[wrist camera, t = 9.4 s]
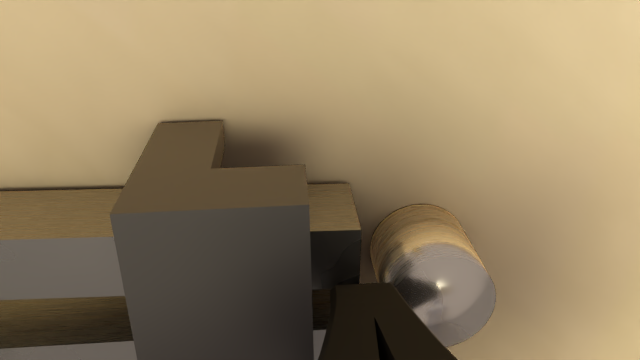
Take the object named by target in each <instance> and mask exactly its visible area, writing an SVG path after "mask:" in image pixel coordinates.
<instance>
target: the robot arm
mask: <svg viewBox="0 0 640 360" xmlns="http://www.w3.org/2000/svg"><path fill="white" fill-rule="evenodd" d="M318 360H457V359H456V358H455V357H454V356H453V355H452V354H451V352H450V351H449V350H448V349H447V348H446V347H445V346H444V345H443V344H442V343H441V342H440V341H439V340H438V338H437V337H436V336H435V335H434V334H433V333H432V332H431V331H430V330H429V329H428V327H427V326H426V325H425V324H424V323H423V322H422V320H421V319H420V318H419V317H418V316H417V314H416V313H415V312H414V311H413V310H412V308H411V307H410V306H409V305H408V303H407V302H406V301H405V299H404V298H403V297H402V295H401V294H400V293H399V291H398V290H397V289H396V287H395V286H394V285H392V284H391V283H390V282H387V283H369V284H351V285H335V286H334V287H333V288H332V289H331V290H330V315H329V320H328V325H327V330H326V333H325V337H324V341H323V344H322V348H321V352H320V355H319V358H318Z"/></svg>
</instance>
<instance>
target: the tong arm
mask: <svg viewBox="0 0 640 360" xmlns="http://www.w3.org/2000/svg"><path fill="white" fill-rule="evenodd" d="M307 189H308V198H309V214H310V246H311V279H312V289H332V288H333V287H334V286H335V285H351V284H359V276H360V251H361V227H360V223H359V219H358V215H357V211H356V208H355V204H354V200H353V196H352V192H351V188H350V185H349V183H343V184H307ZM122 190H123V189H84V190H41V191H0V300H20V299H49V298H78V297H107V296H125V293H124V288H123V283H122V277H121V272H120V267H119V262H118V256H117V251H116V246H115V241H114V235H113V230H112V225H111V220H110V212H111V210H112V209H113V207H114V205H115V203H116V201H117V199H118V197H119V196H120V194H121V192H122Z"/></svg>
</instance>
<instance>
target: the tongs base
mask: <svg viewBox="0 0 640 360" xmlns="http://www.w3.org/2000/svg"><path fill="white" fill-rule="evenodd" d="M370 255H371V260H372V263H373V267H374V271H375V275H376V278H377V282H378V283H387V282H390V283H391V284H392V285H394V286H395V287H396V289H397V290H398V291H399V293H400V294H401V295H402V297H403V298H404V299H405V301H406V302H407V303H408V305H409V306H410V307H411V308H412V310H413V311H414V312H415V313H416V314H417V316H418V317H419V318H420V319H421V320H422V322H423V323H424V324H425V325H426V326H427V327H428V329H429V330H430V331H431V332H432V333H433V334H434V335H435V336H436V337H437V338H438V340H439V341H440V342H441V343H442V344H443V345H444V346H445V347H448V346H452V345H455V344H458V343H460V342H463V341H465V340H467V339H468V338H470V337H472V336H473V335H474V334H476V333H477V332H478V331H479V330H480V329H481V328H482V327H483V326H484V325H485V324H486V323H487V321H488V320H489V318H490V316H491V314H492V312H493V310H494V307H495V302H496V292H495V287H494V283H493V281H492V279H491V277H490V276H489V274H488V272H487V270H486V269H485V267H484V265H483V263H482V262H481V260H480V258H479V256H478V255H477V253H476V251H475V249H474V248H473V246H472V244H471V242H470V241H469V239H468V237H467V236H466V234H465V232H464V230H463V229H462V227H461V225H460V223H459V222H458V220H457V219H456V218H455V217H454V216H453V215H452V214H451V213H449V212H448V211H446V210H445V209H443V208H440V207H438V206H434V205H428V204H417V205H410V206H406V207H403V208H401V209H399V210H397V211H395V212H393V213H391V214H390V215H389V216H387V217H386V218H385V219H384V220H383V221H382V222H381V223H380V224H379V226H378V227H377V228H376V230H375V232H374V234H373V237H372V240H371V244H370ZM330 290H331V289H312V312H313V345H314V360H318V358H319V355H320V352H321V348H322V344H323V341H324V337H325V333H326V330H327V325H328V320H329V315H330ZM0 360H137V356H136V351H135V345H134V340H133V335H132V330H131V325H130V319H129V314H128V309H127V304H126V298H125V296H107V297H78V298H49V299H20V300H0Z"/></svg>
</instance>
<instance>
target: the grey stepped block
mask: <svg viewBox="0 0 640 360" xmlns="http://www.w3.org/2000/svg"><path fill="white" fill-rule="evenodd" d="M224 148H225V141H224V130H223V121H200V122H175V123H158V125H157V127H156V129H155V130H154V132H153V134H152V136H151V138H150V140H149V142H148V143H147V145H146V147H145V149H144V151H143V153H142V155H141V156H140V158H139V160H138V162H137V164H136V166H135V168H134V170H133V171H132V173H131V175H130V177H129V179H128V181H127V183H126V184H125V186H124V188H123V190H122V192H121V194H120V196H119V197H118V199H117V201H116V203H115V205H114V207H113V209H112V210H111V212H110V220H111V225H112V230H113V235H114V241H115V246H116V251H117V256H118V262H119V267H120V272H121V277H122V283H123V288H124V293H125V298H126V304H127V309H128V314H129V319H130V325H131V330H132V335H133V340H134V345H135V351H136V356H137V360H314V345H313V312H312V279H311V246H310V214H309V198H308V189H307V180H306V171H305V165H282V166H260V167H237V168H220V167H221V162H222V158H223V153H224Z"/></svg>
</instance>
